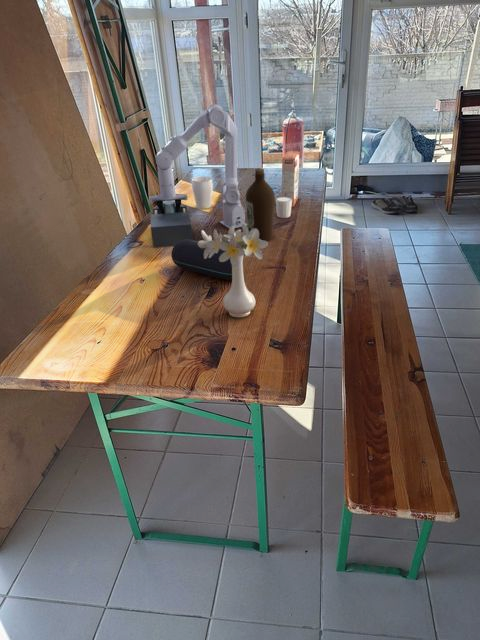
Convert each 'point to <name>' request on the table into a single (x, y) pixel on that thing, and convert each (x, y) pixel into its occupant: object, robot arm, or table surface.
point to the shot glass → (283, 207)
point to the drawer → (182, 209)
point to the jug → (169, 207)
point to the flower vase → (235, 264)
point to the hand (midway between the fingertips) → (171, 218)
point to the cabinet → (170, 228)
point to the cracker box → (290, 175)
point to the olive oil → (260, 206)
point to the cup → (202, 191)
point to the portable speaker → (200, 260)
